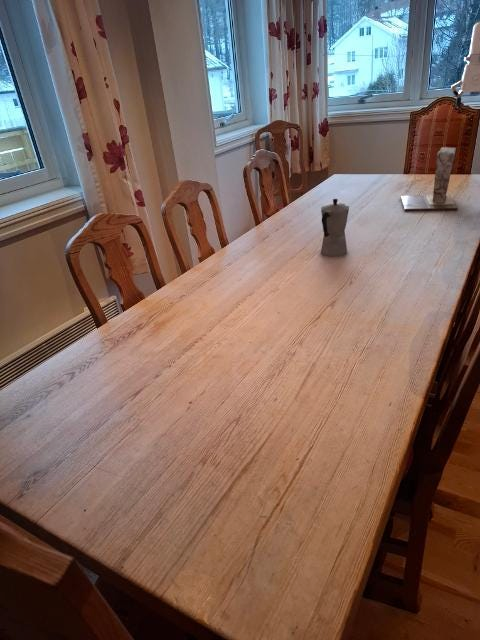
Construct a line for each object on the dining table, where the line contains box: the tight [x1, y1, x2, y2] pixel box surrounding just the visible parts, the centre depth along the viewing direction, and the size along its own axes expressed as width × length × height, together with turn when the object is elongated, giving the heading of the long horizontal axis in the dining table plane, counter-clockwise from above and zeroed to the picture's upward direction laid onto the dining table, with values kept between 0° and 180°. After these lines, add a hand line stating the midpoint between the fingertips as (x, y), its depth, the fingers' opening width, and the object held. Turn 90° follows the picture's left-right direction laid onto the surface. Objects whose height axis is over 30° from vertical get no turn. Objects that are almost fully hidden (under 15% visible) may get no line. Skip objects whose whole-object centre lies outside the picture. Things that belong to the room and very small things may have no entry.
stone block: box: [432, 146, 457, 203], centre depth 178 cm, size 13×7×20 cm, turn 159°
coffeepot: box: [320, 198, 350, 257], centre depth 141 cm, size 15×9×18 cm, turn 145°
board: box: [400, 193, 459, 212], centre depth 182 cm, size 20×20×1 cm
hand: (470, 107), depth 178 cm, fingers open, 9 cm apart
